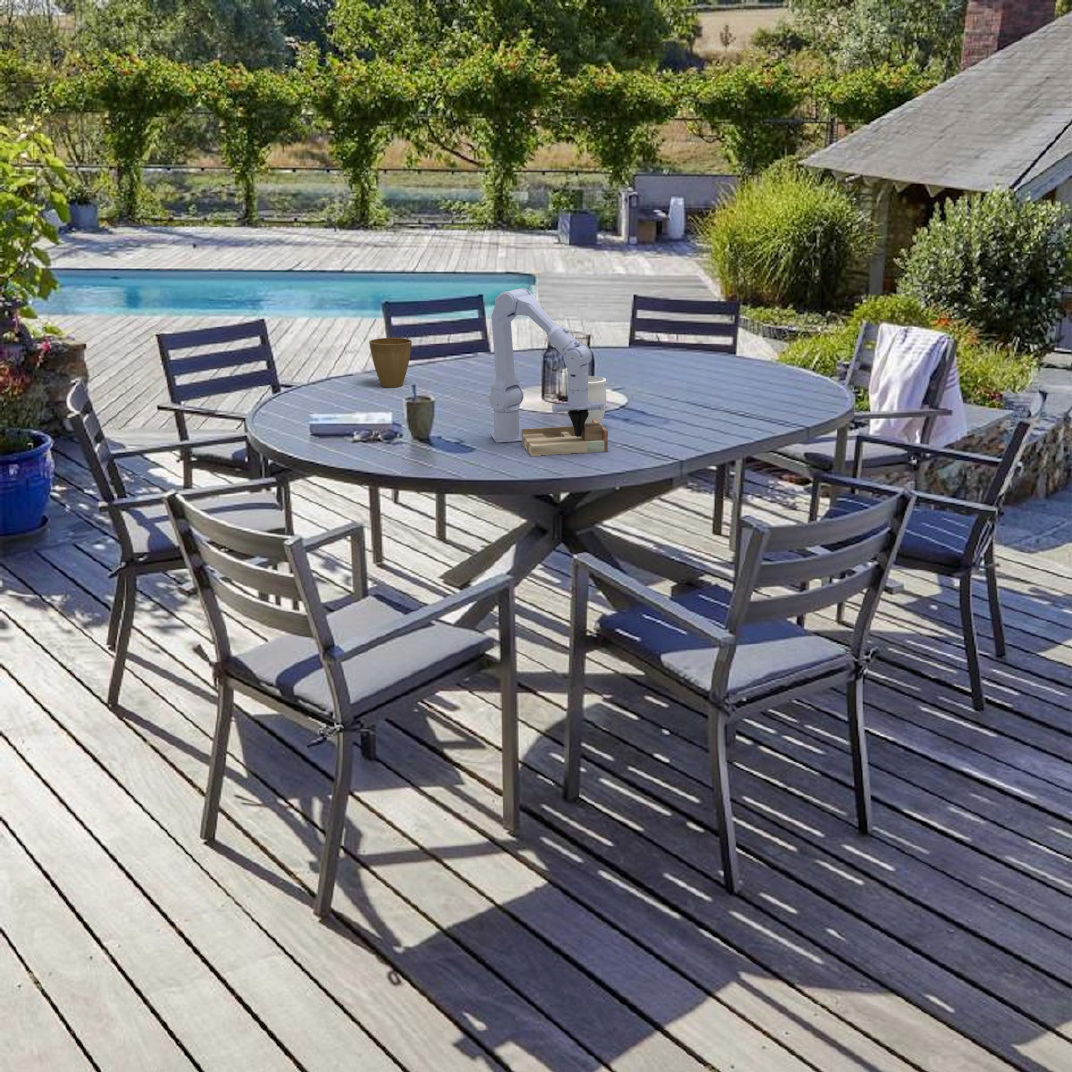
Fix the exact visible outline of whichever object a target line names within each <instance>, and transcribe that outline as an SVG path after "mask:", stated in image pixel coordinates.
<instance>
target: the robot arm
mask: <svg viewBox="0 0 1072 1072" xmlns="http://www.w3.org/2000/svg"><path fill="white" fill-rule="evenodd" d="M517 316H525V317H526V316H527V317H529V318H530V319H531V320H532V321H533V323H535V324H536V325H537V326H538V327H540V328H541V329H542V330H543V331H544V332H545V333H546V334H547V340H548V342H549V343H550V344H551V345H552V346H553V347H554V348H555V349H556V351H558V352H559V353H560V355H562V357H563V361H564V364H565V366H566V368H567V402H565V403H560V404H558V403H557V404H552V405H551V406H552V407H551V408H552V410H551V411H552V413H553V414H557V413H566V412H567V414H568V417H569V419H570V420H571V424H572V426H573V427H574V431H575V436H576V437H581V434H582V430H583V426H584V424H585V421H586V419H587V418H588V415H589V412H588V410H604V403H602V402H588V376H589V364H590V363H591V362H592V360H593V354H592V350H591V348H590V347H589V346H588V344H587V345H586V344H584V343H581V342H580V341H579V340H577V339H576V338H575V337H574V336H573V335H572V334H571V333H570V329H569V328H568V327H564V326H563V325H557V324H556V323H555V322H554V321H553V319H552V318H551V317H550V316H549V315H548V313H546V310H544V309H543V307H541V305H540V304H539V303H538V301H537V298H536V296H535V295H534V294H532V293H531V292H530V290H529V289H527V288H525V287H519V288H515V289H511V290H508V291H507V290H505V291H502V292H500V293H499V294H498V295H497V296H496V297H495V298H494V307H493V310H492V313H491V328H492V329H491V330H492V342H493V355H494V357H493V358H494V366H495V367H494V369H495V378H494V380H493V382H492V383H491V385H490V388H491V389H490V393H489V399H488V400H489V404H490V407H492V409H493V411H494V413H493V433H491V434H490V436H491V437H492V438H493V441H495V443H506V442H507V443H510V442H511V443H512V442H522V436H521V435H520V407H521V406H520V405H521V403H523V401H524V391H523V389H522V386H521V381H520V380H519V379H518V377H517V376H516V374H515V362H514V359H515V358H514V349H513V348H514V347H513V334H512V322H513V320H514V319H515V318H516V317H517Z"/></svg>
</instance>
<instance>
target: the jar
mask: <svg viewBox="0 0 1072 1072" xmlns="http://www.w3.org/2000/svg"><path fill="white" fill-rule="evenodd" d="M605 384H607V378H605V377H602V376H597V375H596V376H595V375H588V402H602V403H604V410H588V412H589V415H588V418H587V419H586V421H585V423H592V420H596V421H597V422H599V423H600V424H601V425H602V426H603V423H602V421H603V419H604V417H605V412H606V406H607V389H606V386H605ZM603 427H604V426H603Z"/></svg>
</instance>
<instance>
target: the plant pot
mask: <svg viewBox="0 0 1072 1072" xmlns="http://www.w3.org/2000/svg"><path fill="white" fill-rule="evenodd" d="M368 343H369V349H370V353H371V358H372V362H373V366H374V369H375V370H374V371H375V373H376V376H377V378H378V381H379V383H380V386H381V387H383V386H385V387H384V388H389V387H393V388H400V387H403V384H404V382H405V379H406V375H407V372H408V368H409V363H410V358H411V354H412V353H411V351H412V344H413V340H412V339H410V338H404V337H382V338H380V337H379V338H375V339H370V340H369V342H368ZM399 386H400V387H399Z"/></svg>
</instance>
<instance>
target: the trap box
mask: <svg viewBox="0 0 1072 1072" xmlns="http://www.w3.org/2000/svg"><path fill="white" fill-rule="evenodd" d="M592 423H597V421H596V420H592ZM598 423H599V422H598ZM599 424H600V423H599ZM600 425H601V424H600ZM521 438H522V441H521V445H522V444H523V445H524V446H523V445H522V446H523V448H524V449H525V448H526V449H525V450H526V451H527V453H528V454H529V453H530V454H531V455H530V454H529V455H530V456H531V457H541V455H546V456H550V455H549V454H561V455H571V453H577V454H590V453H606V452H607V453H608V451H609V450H608V449H609V445H608V443H609V442H608V441H609V439H608V438H609V430H608V429H606V428H605V427H604V426H603V439H602V440H597V441H585V440H584V439H583V438H582V437H576V436H575V431H574V427H573V425H570V426H554V427H553V426H552V427H551V426H550V427H536V428H535V427H534V428H521Z"/></svg>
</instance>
